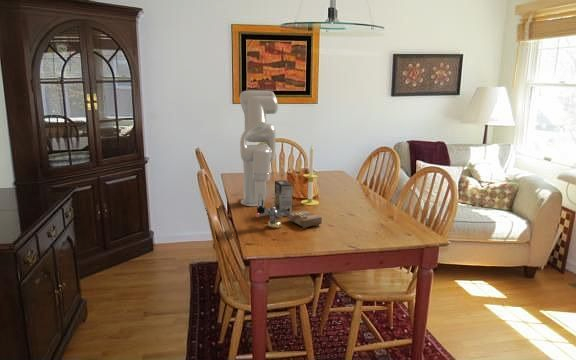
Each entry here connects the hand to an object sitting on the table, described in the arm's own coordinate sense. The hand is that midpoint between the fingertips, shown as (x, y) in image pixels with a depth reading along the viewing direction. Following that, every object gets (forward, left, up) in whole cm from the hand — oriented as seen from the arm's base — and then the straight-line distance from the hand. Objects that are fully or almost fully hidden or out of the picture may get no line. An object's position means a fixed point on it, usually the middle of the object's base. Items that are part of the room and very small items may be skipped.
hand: (260, 215), depth 210 cm
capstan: (+3, +5, -6) cm, 8 cm away
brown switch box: (+6, +20, -6) cm, 22 cm away
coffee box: (-12, +20, -6) cm, 24 cm away
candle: (-21, +43, -6) cm, 48 cm away
